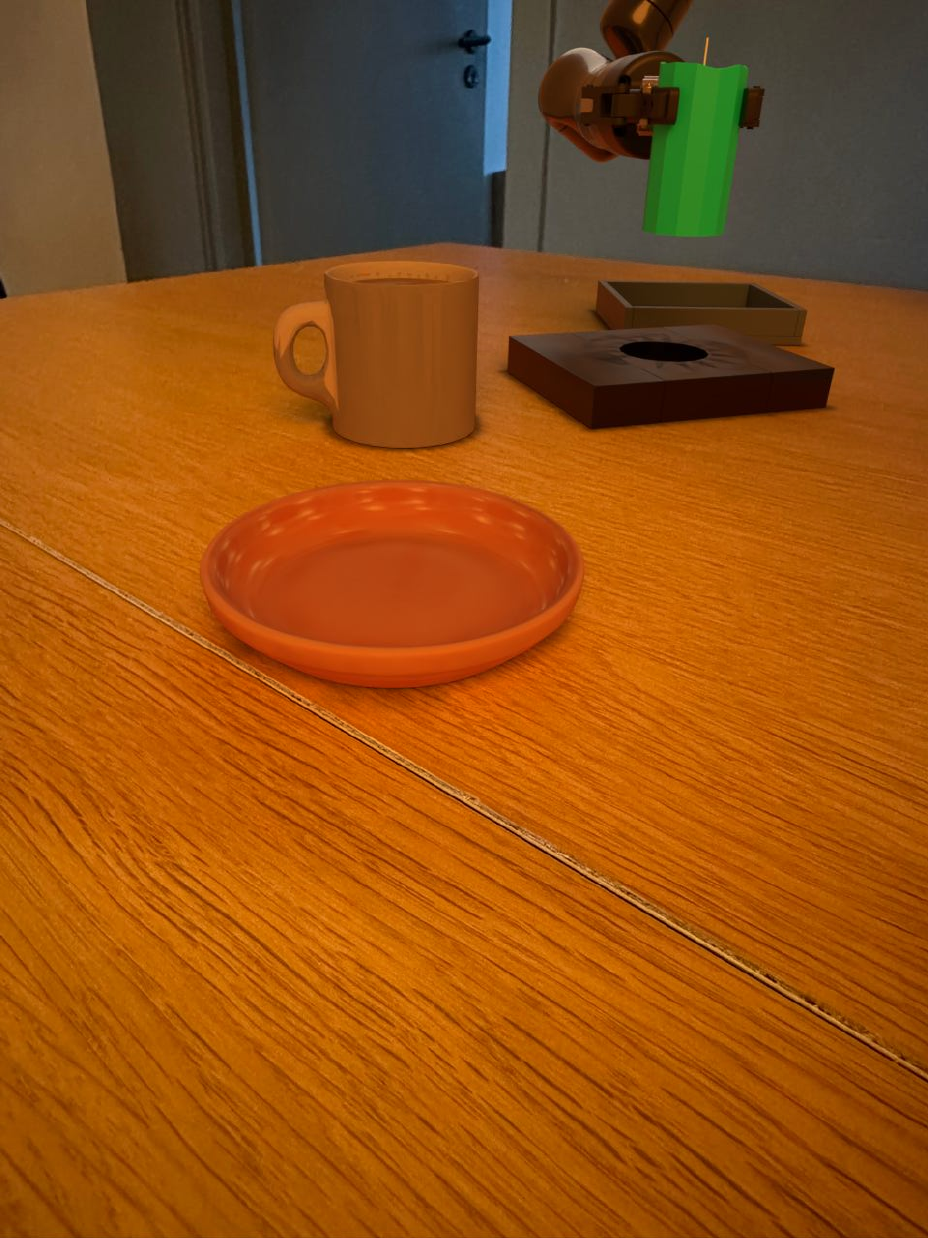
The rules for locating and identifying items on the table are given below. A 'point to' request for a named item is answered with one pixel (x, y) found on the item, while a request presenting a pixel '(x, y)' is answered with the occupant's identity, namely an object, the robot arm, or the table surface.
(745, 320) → the brown open tray
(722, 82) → the candle
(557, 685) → the table surface
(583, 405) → the dark brown flat block
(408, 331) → the coffee mug
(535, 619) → the saucer
